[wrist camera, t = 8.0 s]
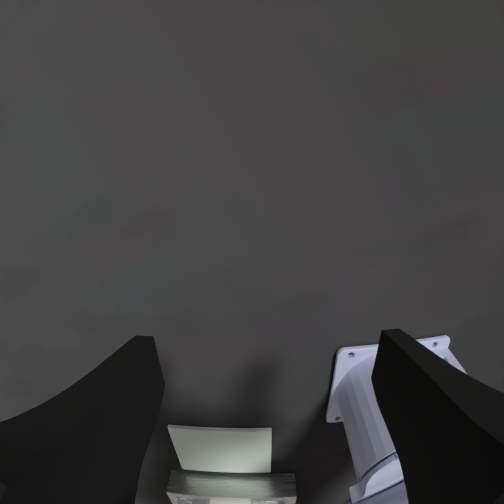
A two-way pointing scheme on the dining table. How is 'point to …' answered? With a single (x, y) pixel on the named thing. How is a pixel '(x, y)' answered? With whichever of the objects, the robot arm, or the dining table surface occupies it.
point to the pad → (222, 448)
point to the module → (231, 502)
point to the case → (231, 487)
